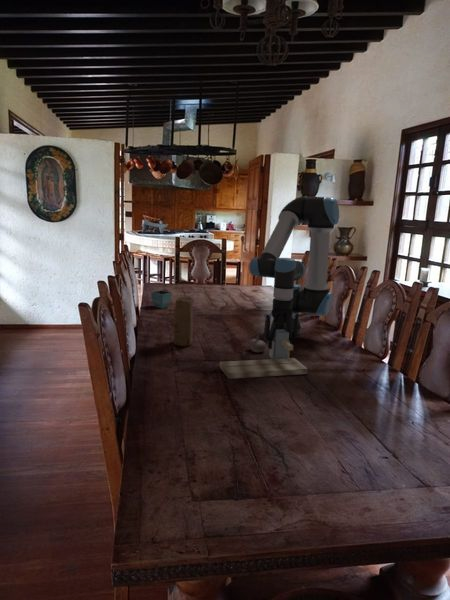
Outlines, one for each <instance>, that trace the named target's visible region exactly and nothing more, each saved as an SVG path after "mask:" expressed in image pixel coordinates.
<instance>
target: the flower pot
mask: <svg viewBox="0 0 450 600" xmlns="http://www.w3.org/2000/svg"><path fill="white" fill-rule="evenodd" d="M150 294H151V296H150V297H151V301H152V304H153V306H154V307H155V308H159V309H164V308H167V307H168V306H169V305H170V303H171V300H172V295H173V292H172V291H166V290H160V289H159V290H156V291H151V292H150Z"/></svg>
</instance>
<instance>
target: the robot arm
mask: <svg viewBox="0 0 450 600" xmlns="http://www.w3.org/2000/svg"><path fill="white" fill-rule="evenodd" d="M277 218H278V221H277V223H276V225H275V226H274V229H273V231H272V233H271V235H270V236H269V238H268V241H267V243H266V244H265V246H264V248H263V250H262V252H261V254H260V256H259V257H253V258H251V260H250V261H249V267H248V269H249V273H250V275H252V276H255V277H259V278H268V279H269V278H271V279H274V281H273V294H272V295H273V296H272V297H273V299H272V309H271V311H270V313H265V314H264V315H263V317H264V321H265V322H264V328H263V329H264V330H263V339H265V340H266V341H267V349H268V350H269V354H268V355H269V357H271V358H273V357H274V341H273V338H274V335H275V332H276V330H282V329H284V330H286V331H287V332H289V341H288V342H289V343H290V344H292V342H293V341H294V340H296V339H297V338H298V335H300V334H302V326H301V322H300V315H299V314H306V315H311V316H312V315H313V316H316V317H317V316H320V317H325V316H326V315H327V314H329V311H330V310H331V307H332V305H333V304H332V303H333V298H334V296H333V295H334V293H333V292H332V291H330V286H329V285H328V284H327V280H328V279H327V278H328V267H329V266H328V265H329V251H330V238H331V237H330V236H331V232H332V230H334V228H335V226H336V225H338V223H339V219H340V208H339V203H338V200H337V199H335V198H334V197H328V196H300V197H296V198H294V199H293V200H291V201H290V202H288V203H287V204H286V205H285V206H284V207H283V208H282V209H281V211H280V212H279V214H278V217H277ZM301 223H304V224H307V229H308V230H309V231H310V236H309V237H310V238H309V253H308V254H309V255H308V271H307V270H306V266H305V264H304V263H303V261H300V260H296V259H294V258H291V257H281V255H282V253H283V251H284V250H285V246H286V245H287V242H288V241H289V238H290V237H291V234H292V233H293V231H294V229H295V228H296V227H298V225H299V224H301ZM306 271H307V272H308V274H307V282H306V283H305V284H304V286H303V288H302V285H301V284H298V283H297V284H295V281H299V280H300V279H302V278H303V277H304V276H305V274H306ZM271 320H272V321H271ZM292 345H293V344H292ZM287 358H288V355H287Z"/></svg>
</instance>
